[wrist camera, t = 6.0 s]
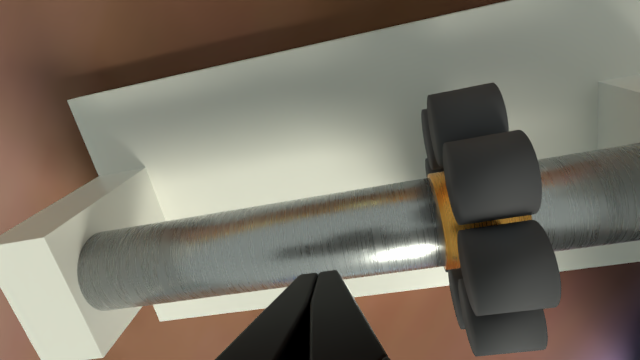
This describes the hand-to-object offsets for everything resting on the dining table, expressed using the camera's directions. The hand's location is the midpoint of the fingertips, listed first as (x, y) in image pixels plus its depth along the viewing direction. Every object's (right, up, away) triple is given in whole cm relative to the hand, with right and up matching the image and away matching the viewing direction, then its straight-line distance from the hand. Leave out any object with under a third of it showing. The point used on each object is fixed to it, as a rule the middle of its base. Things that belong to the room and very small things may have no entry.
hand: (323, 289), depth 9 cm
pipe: (+1, +1, +4) cm, 4 cm away
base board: (+2, +3, +7) cm, 8 cm away
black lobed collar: (+4, +3, +5) cm, 7 cm away
